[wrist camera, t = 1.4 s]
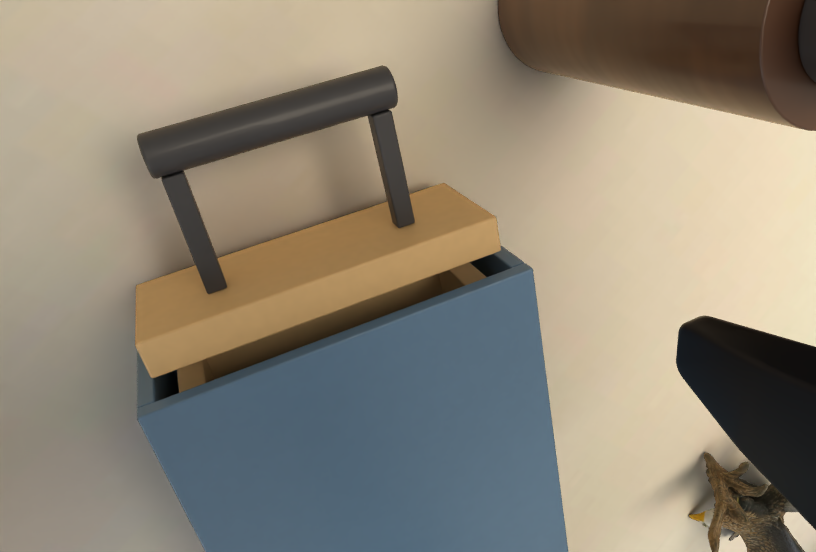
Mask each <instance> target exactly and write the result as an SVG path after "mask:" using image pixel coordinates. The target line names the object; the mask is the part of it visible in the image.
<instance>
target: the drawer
mask: <svg viewBox="0 0 816 552" xmlns="http://www.w3.org/2000/svg"><path fill="white" fill-rule="evenodd" d="M397 101H398V95H397V88H396V84H395V81H394V78H393V76H392V74H391V72H390V70H389V69H388V68H387V67H386V66H379V67H375V68H372V69H368V70H365V71H361V72H358V73H354V74H351V75H347V76H344V77H340V78H336V79H333V80H329V81H326V82H322V83H319V84H315V85H312V86H308V87H304V88H301V89H297V90H294V91H290V92H287V93H283V94H280V95H276V96H272V97H269V98H265V99H262V100H258V101H255V102H251V103H248V104H244V105H241V106H237V107H233V108H230V109H226V110H223V111H219V112H216V113H212V114H209V115H205V116H201V117H198V118H194V119H191V120H187V121H184V122H180V123H177V124H173V125H169V126H166V127H162V128H159V129H155V130H152V131H148V132H145V133H141V134H139V135H138V136H137V141H138V145H139V148H140V151H141V154H142V156H143V159H144V161H145V164H146V166H147V168H148V170H149V173H150V174H151V176H152V177H153V178H160V177H162V182H163V185H164V187H165V190H166V192H167V195H168V197H169V200H170V202H171V205H172V207H173V210H174V212H175V215H176V217H177V220H178V222H179V225H180V227H181V230H182V232H183V235H184V237H185V240H186V242H187V245H188V247H189V250H190V252H191V255H192V257H193V259H194V262H195V264H196V265H195V266H192V267H189V268H186V269H183V270H180V271H177V272H174V273H171V274H168V275H165V276H162V277H159V278H156V279H153V280H150V281H147V282H144V283H141V284H138V285H137V286H136V325H135V346H136V348H137V350H138V352H139V354H140V356H141V358H142V361H143V363H144V365H145V367H146V369H147V371H148V373H149V375H150V377H151V378H156V377H158V376H161V375H164V374H167V373H169V372H172V371H175V370H177V377H178V387H179V393H180V392H183V391H186V390H188V389H191V388H194V387H196V386H199V385H202V384H204V383H207V382H210V381H212V380H215V379H218V378H220V377H223V376H226V375H228V374H231V373H234V372H236V371H239V370H242V369H244V368H247V367H250V366H252V365H255V364H258V363H260V362H263V361H265V360H268V359H271V358H273V357H276V356H279V355H281V354H284V353H287V352H289V351H292V350H295V349H297V348H300V347H303V346H305V345H308V344H311V343H313V342H316V341H319V340H321V339H324V338H327V337H329V336H332V335H335V334H337V333H340V332H343V331H345V330H348V329H351V328H353V327H356V326H359V325H361V324H364V323H367V322H369V321H372V320H375V319H377V318H380V317H383V316H385V315H388V314H391V313H393V312H396V311H399V310H401V309H404V308H407V307H409V306H412V305H415V304H417V303H420V302H423V301H425V300H428V299H431V298H433V297H436V296H439V295H441V294H444V293H447V292H449V291H452V290H455V289H457V288H460V287H463V286H465V285H468V284H471V283H473V282H476V281H479V280H481V279H484V278H487V277H486V276H485V275H484V274H482V273H481V272H480V271H479V270H478V269H476V268H475V267H474V266H473V265H472V264H471V263H469V262H472V261H475V260H477V259H480V258H483V257H485V256H488V255H491V254H494V253H496V252H499V251H500V250H501V246H500V240H499V233H498V226H497V220H496V217H495V216H494V215H492V214H491V213H489V212H488V211H486V210H485V209H483V208H482V207H480V206H479V205H477V204H475V203H474V202H472V201H471V200H469V199H468V198H466V197H465V196H463V195H462V194H460V193H459V192H457V191H456V190H454V189H453V188H451V187H450V186H448V185H447V184H445V183H441V184H438V185H435V186H432V187H429V188H426V189H423V190H420V191H417V192H414V193H411V194H409V191H408V186H407V181H406V177H405V172H404V167H403V163H402V158H401V153H400V149H399V144H398V139H397V135H396V130H395V125H394V121H393V116H392V112H391V111H390V110H388V109H391V108H394V107H395V106H396V105H397ZM364 116H368V119H369V123H370V128H371V132H372V136H373V141H374V145H375V149H376V154H377V158H378V162H379V166H380V171H381V175H382V179H383V184H384V188H385V192H386V197H387V202H384V203H381V204H378V205H375V206H372V207H369V208H366V209H363V210H360V211H357V212H354V213H351V214H348V215H345V216H342V217H339V218H336V219H333V220H330V221H327V222H324V223H321V224H318V225H315V226H312V227H309V228H306V229H303V230H300V231H297V232H294V233H291V234H288V235H285V236H282V237H279V238H276V239H273V240H270V241H267V242H264V243H261V244H258V245H255V246H252V247H249V248H246V249H243V250H240V251H237V252H234V253H231V254H228V255H225V256H222V257H219V258H217V256H216V254H215V251H214V248H213V246H212V243H211V241H210V238H209V235H208V233H207V230H206V228H205V225H204V222H203V220H202V217H201V214H200V212H199V209H198V207H197V204H196V201H195V199H194V196H193V194H192V191H191V188H190V186H189V183H188V180H187V178H186V175H185V173H184V170H187V169H190V168H193V167H197V166H200V165H203V164H207V163H210V162H213V161H217V160H220V159H224V158H227V157H230V156H234V155H237V154H240V153H244V152H247V151H250V150H254V149H257V148H260V147H264V146H267V145H270V144H274V143H277V142H280V141H284V140H287V139H291V138H294V137H297V136H301V135H304V134H307V133H311V132H314V131H317V130H321V129H324V128H327V127H331V126H334V125H337V124H341V123H344V122H347V121H351V120H354V119H358V118H361V117H364Z"/></svg>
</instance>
